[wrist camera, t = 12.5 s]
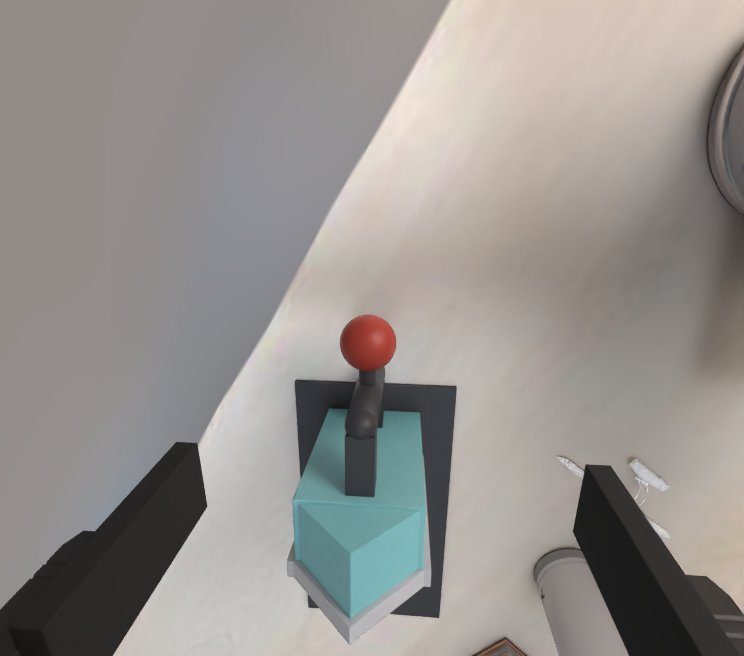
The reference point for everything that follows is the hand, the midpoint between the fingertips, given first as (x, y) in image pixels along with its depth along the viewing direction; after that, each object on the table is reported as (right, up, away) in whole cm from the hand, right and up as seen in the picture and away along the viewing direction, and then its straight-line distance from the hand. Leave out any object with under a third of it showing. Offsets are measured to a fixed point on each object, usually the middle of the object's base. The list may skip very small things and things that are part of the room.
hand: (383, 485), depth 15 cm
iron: (-1, -9, +16) cm, 19 cm away
